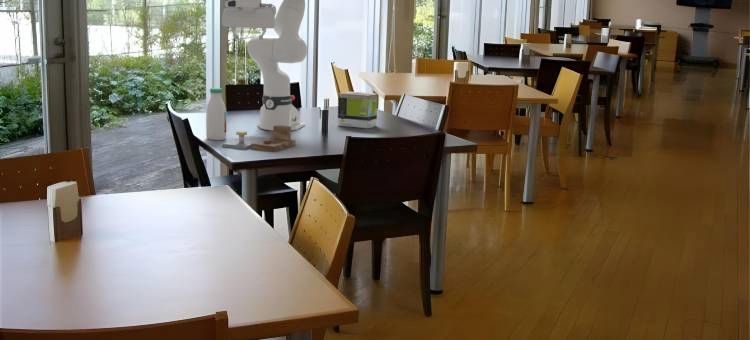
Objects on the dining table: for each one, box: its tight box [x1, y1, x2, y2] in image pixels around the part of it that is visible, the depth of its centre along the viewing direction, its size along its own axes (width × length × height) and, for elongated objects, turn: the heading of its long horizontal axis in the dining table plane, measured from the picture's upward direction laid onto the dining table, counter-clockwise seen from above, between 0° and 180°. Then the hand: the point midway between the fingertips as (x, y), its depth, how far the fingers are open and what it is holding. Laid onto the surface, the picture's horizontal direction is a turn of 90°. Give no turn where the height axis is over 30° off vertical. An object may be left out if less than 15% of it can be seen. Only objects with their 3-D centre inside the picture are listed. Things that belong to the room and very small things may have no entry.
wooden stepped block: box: [250, 125, 296, 153], centre depth 324 cm, size 16×10×7 cm, turn 157°
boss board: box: [221, 130, 270, 150], centre depth 328 cm, size 20×10×5 cm, turn 157°
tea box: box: [337, 91, 378, 129], centre depth 378 cm, size 15×10×15 cm, turn 65°
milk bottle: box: [205, 87, 227, 141], centre depth 335 cm, size 8×8×20 cm
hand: (248, 39), depth 328 cm, fingers open, 8 cm apart
